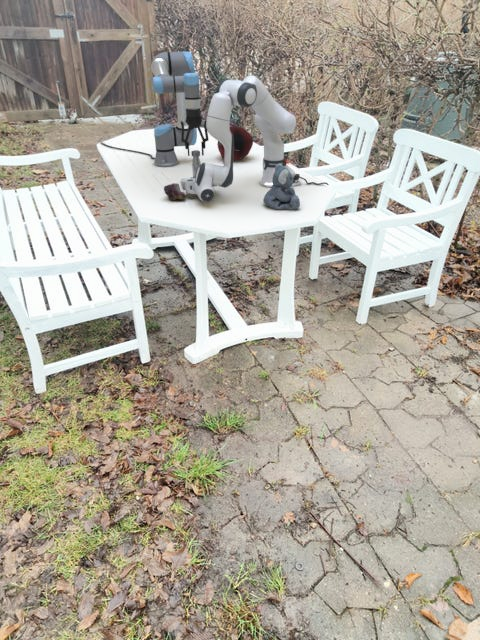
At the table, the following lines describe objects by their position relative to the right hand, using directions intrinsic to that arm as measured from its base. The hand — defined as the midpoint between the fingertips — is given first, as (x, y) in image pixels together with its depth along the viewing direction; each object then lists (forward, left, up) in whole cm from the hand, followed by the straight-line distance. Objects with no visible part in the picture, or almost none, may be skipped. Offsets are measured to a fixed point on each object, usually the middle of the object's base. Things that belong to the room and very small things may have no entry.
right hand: (196, 178), depth 247 cm
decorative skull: (-36, -57, -7) cm, 67 cm away
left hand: (0, +1, +13) cm, 13 cm away
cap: (0, +1, +14) cm, 14 cm away
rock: (+15, +11, -7) cm, 20 cm away
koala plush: (-37, +36, -7) cm, 51 cm away
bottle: (0, +1, -7) cm, 7 cm away
